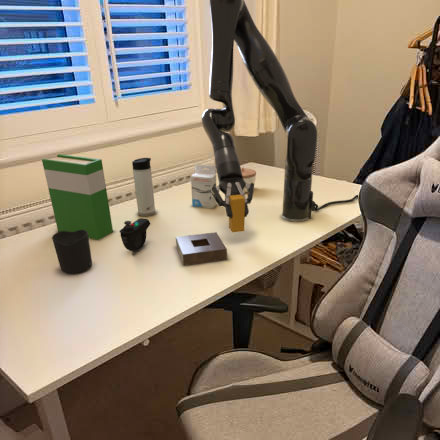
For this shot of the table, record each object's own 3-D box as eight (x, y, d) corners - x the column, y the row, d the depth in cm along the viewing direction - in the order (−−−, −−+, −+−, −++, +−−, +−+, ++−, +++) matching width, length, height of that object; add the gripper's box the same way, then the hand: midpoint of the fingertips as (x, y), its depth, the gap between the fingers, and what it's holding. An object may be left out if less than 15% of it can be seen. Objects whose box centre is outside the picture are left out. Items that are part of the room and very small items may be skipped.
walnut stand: (216, 242, 139) (216, 232, 137) (227, 259, 128) (226, 248, 127) (176, 247, 137) (175, 236, 135) (183, 265, 126) (182, 254, 124)
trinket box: (231, 186, 189) (231, 164, 184) (256, 186, 187) (257, 164, 182) (228, 194, 180) (228, 171, 175) (254, 194, 178) (255, 171, 173)
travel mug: (153, 216, 160) (147, 160, 149) (135, 216, 161) (128, 160, 151) (158, 210, 165) (153, 156, 155) (141, 210, 166) (135, 155, 156)
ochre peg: (240, 226, 140) (241, 194, 135) (244, 231, 137) (245, 198, 132) (228, 227, 140) (228, 195, 134) (232, 232, 136) (232, 199, 131)
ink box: (191, 206, 168) (189, 167, 161) (196, 202, 172) (194, 164, 165) (212, 208, 166) (211, 169, 158) (217, 204, 170) (216, 165, 162)
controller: (120, 255, 133) (115, 224, 127) (142, 240, 142) (139, 210, 137) (132, 258, 131) (128, 226, 126) (154, 241, 141) (151, 211, 136)
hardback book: (58, 231, 150) (41, 159, 138) (73, 223, 156) (59, 154, 143) (98, 240, 143) (84, 165, 131) (113, 231, 149) (101, 159, 136)
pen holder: (75, 278, 121) (68, 245, 116) (52, 270, 125) (44, 238, 120) (100, 264, 128) (94, 232, 122) (77, 257, 132) (71, 226, 127)
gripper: (207, 161, 133) (217, 213, 129) (252, 157, 136) (264, 209, 132) (204, 174, 140) (213, 224, 136) (247, 170, 143) (257, 219, 139)
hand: (238, 216), depth 134 cm, fingers closed on ochre peg, 4 cm apart
